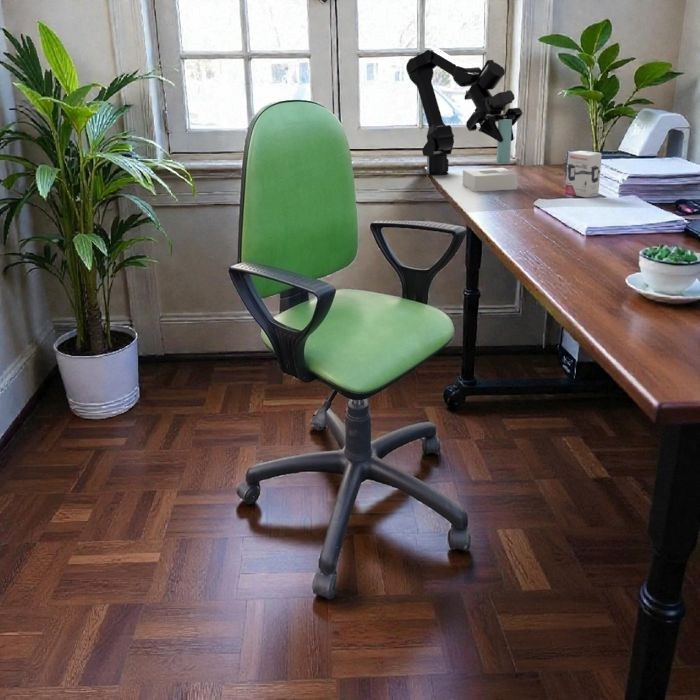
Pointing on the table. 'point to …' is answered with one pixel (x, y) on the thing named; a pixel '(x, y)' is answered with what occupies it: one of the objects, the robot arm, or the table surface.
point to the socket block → (489, 179)
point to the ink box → (583, 173)
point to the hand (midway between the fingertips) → (507, 140)
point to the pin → (504, 141)
